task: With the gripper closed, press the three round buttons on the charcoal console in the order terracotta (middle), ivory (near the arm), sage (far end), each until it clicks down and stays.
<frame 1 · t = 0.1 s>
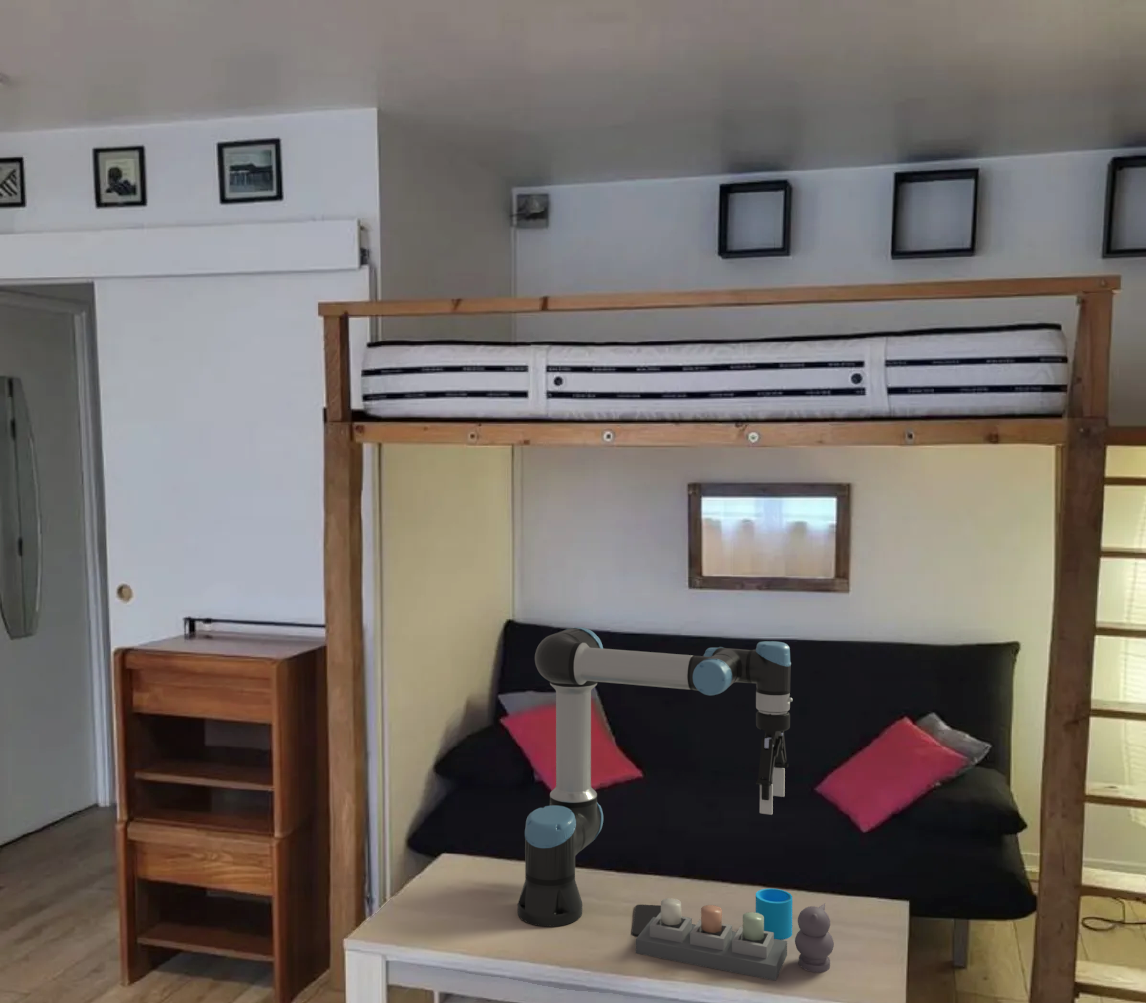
hand: (772, 804, 227), 28 cm above the table, fingers open, 13 cm apart
smartphone: (650, 924, 230), on the table
ivory button: (671, 911, 217), point 8 cm above the table, slide at 0.0 cm
mug: (775, 929, 227), on the table
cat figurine: (814, 965, 209), on the table
console: (711, 954, 214), on the table
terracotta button: (711, 918, 214), point 8 cm above the table, slide at 0.0 cm
sage button: (753, 926, 210), point 8 cm above the table, slide at 0.0 cm
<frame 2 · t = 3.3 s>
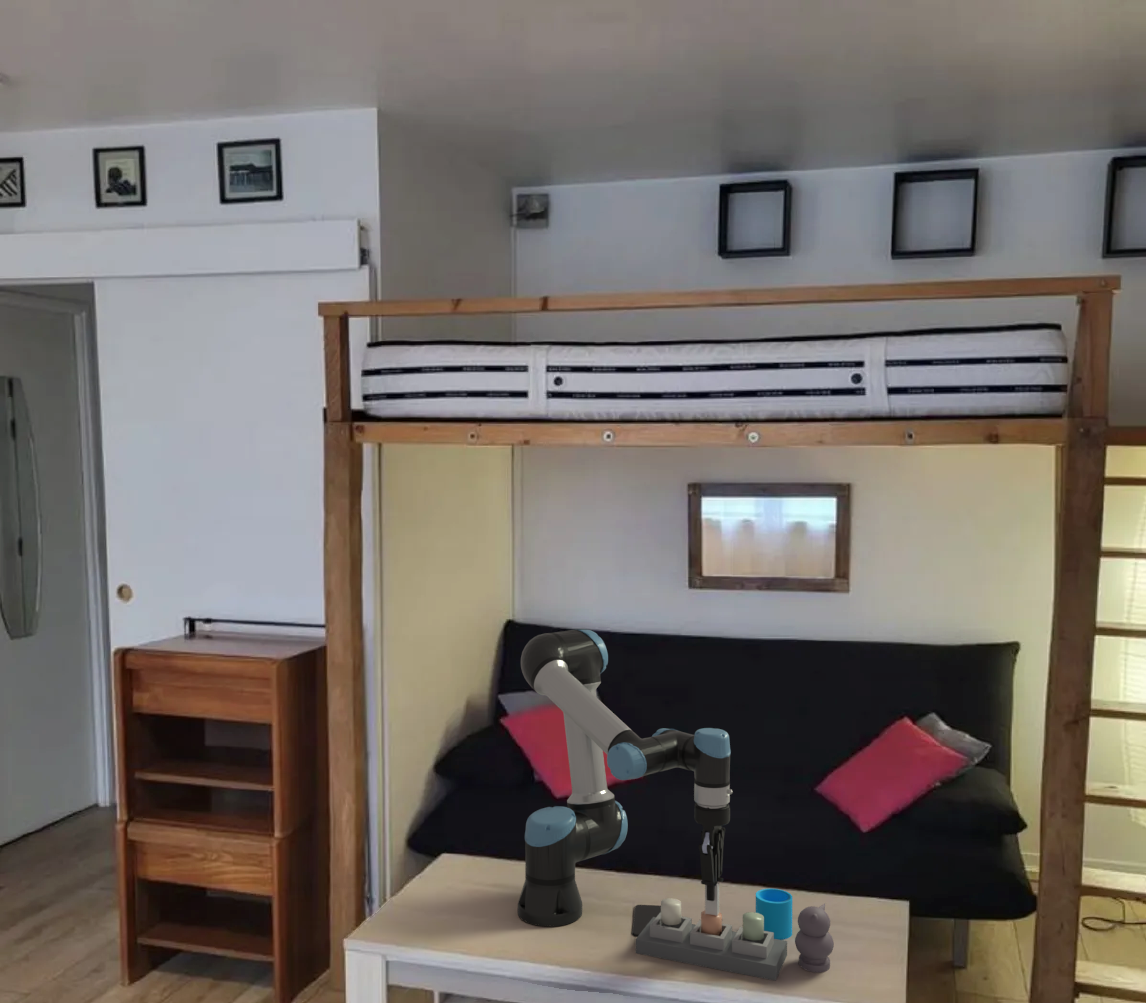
hand: (712, 913, 214), 9 cm above the table, fingers closed
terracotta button: (711, 923, 214), point 7 cm above the table, slide at 1.0 cm, touching gripper
everything else where it was.
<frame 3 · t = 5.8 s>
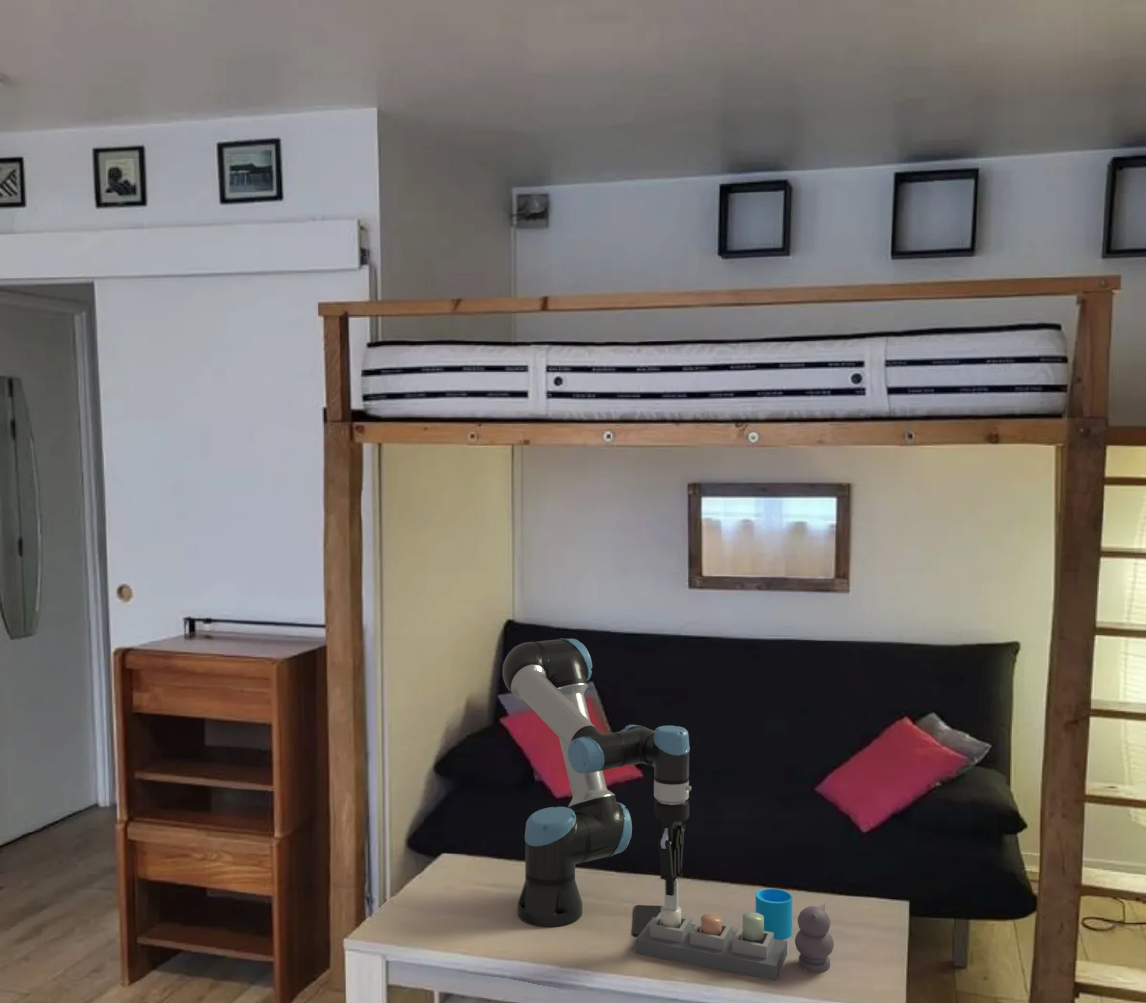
hand: (671, 907, 217), 9 cm above the table, fingers closed
ivory button: (670, 917, 217), point 6 cm above the table, slide at 1.4 cm, touching gripper
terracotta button: (711, 927, 214), point 6 cm above the table, slide at 1.9 cm
everything else where it was.
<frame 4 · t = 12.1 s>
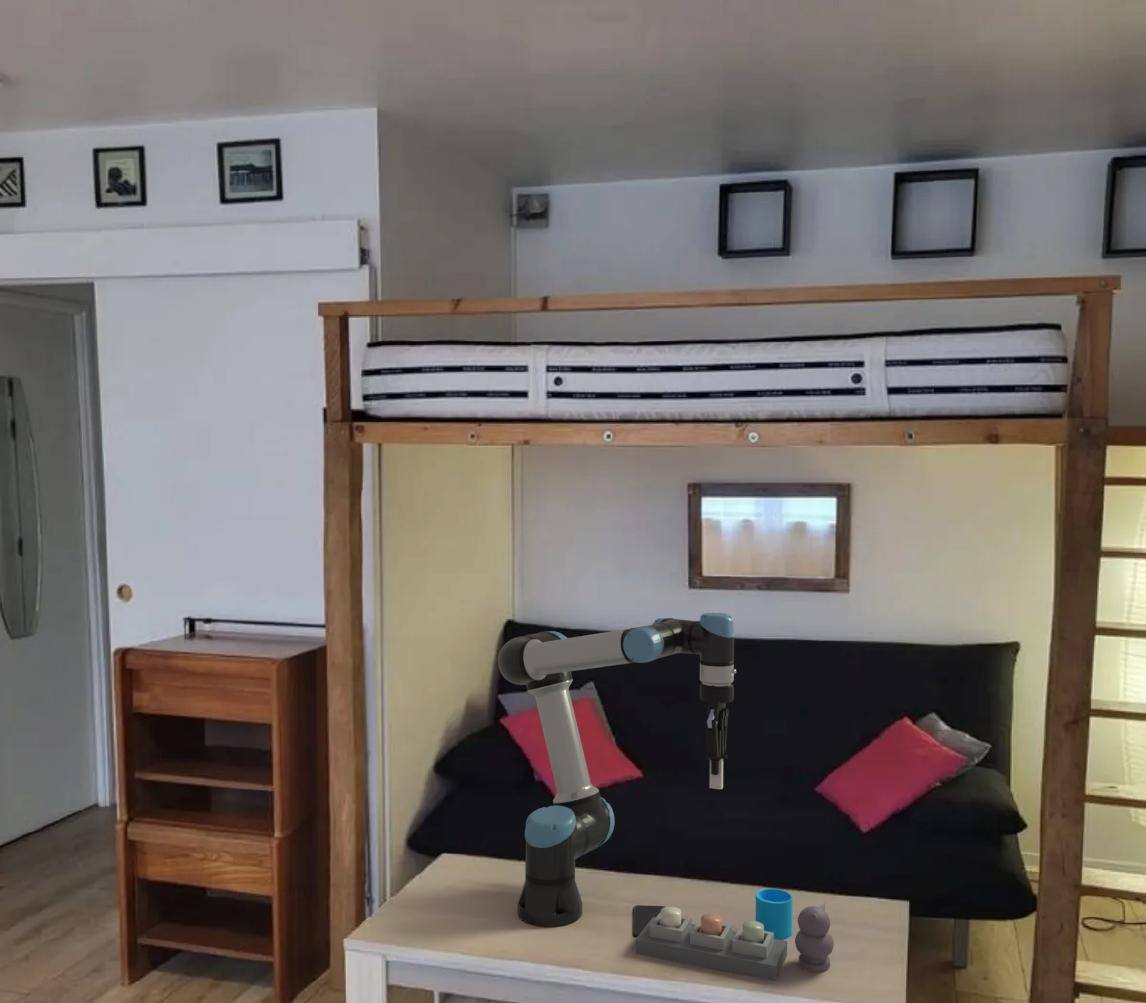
hand: (716, 787, 224), 32 cm above the table, fingers closed
ivory button: (670, 920, 217), point 6 cm above the table, slide at 1.9 cm
sage button: (753, 935, 210), point 6 cm above the table, slide at 1.9 cm
everything else where it was.
at the end: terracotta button slide at 1.9 cm; ivory button slide at 1.9 cm; sage button slide at 1.9 cm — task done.
